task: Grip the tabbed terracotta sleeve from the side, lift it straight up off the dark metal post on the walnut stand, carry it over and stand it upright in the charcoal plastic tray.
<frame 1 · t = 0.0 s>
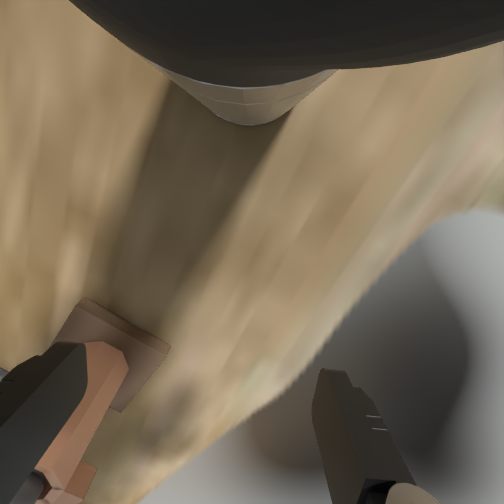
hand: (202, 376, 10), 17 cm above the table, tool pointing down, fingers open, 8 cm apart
sleeve: (100, 363, 29), point 1 cm above the table, touching stake stand
stake stand: (107, 353, 31), on the table
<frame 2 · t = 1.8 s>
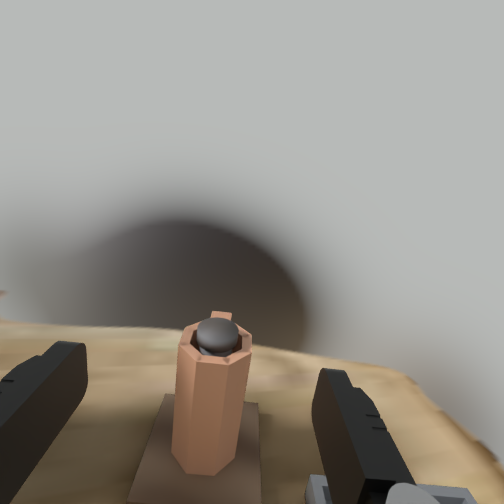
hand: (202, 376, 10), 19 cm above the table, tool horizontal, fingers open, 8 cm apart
sleeve: (205, 442, 26), point 1 cm above the table, touching stake stand
stake stand: (203, 454, 26), on the table
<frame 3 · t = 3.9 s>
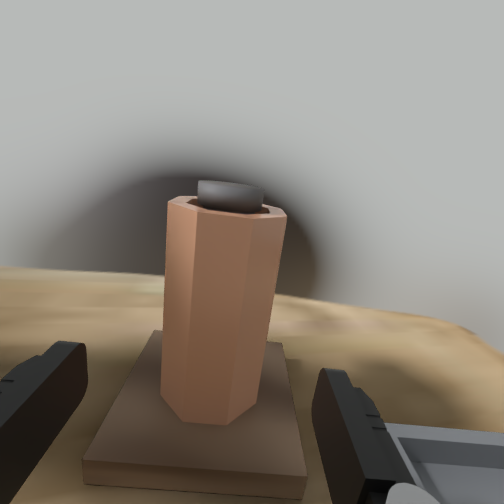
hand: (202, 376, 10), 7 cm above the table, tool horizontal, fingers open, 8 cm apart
sleeve: (210, 384, 17), point 1 cm above the table, touching stake stand
stake stand: (208, 403, 18), on the table
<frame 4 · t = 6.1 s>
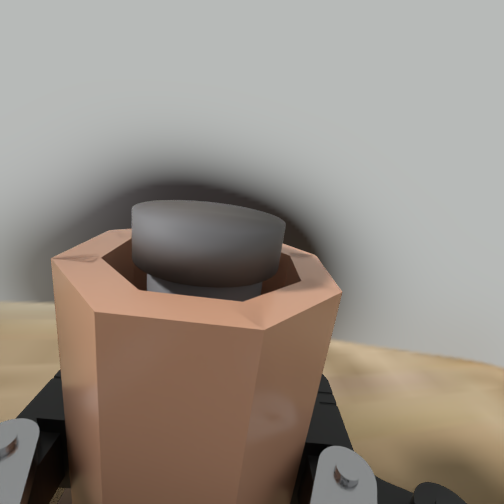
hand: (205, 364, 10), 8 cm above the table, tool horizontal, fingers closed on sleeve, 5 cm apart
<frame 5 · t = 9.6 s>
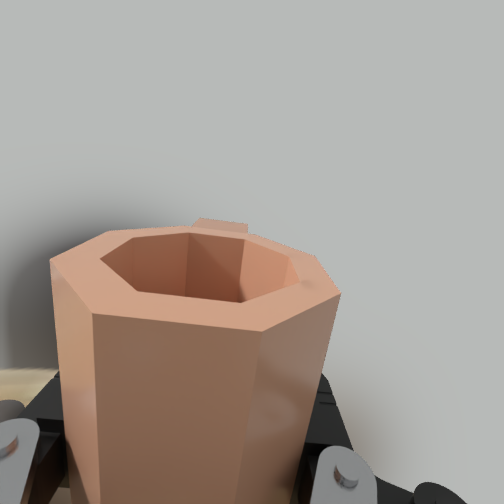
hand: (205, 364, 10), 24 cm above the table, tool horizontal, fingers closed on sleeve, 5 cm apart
when the fingers open (8 cm above the table, at t = 13.4 s): sleeve drops 2 cm, resting on tray.
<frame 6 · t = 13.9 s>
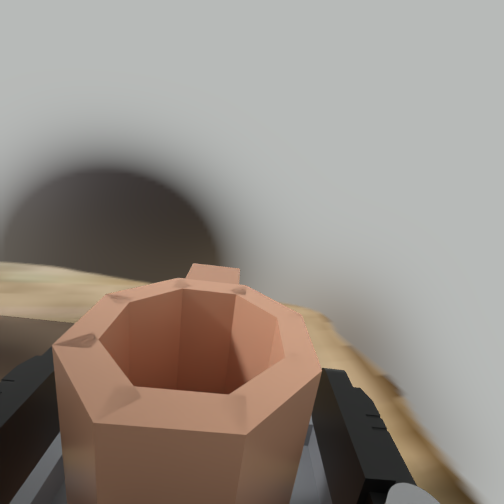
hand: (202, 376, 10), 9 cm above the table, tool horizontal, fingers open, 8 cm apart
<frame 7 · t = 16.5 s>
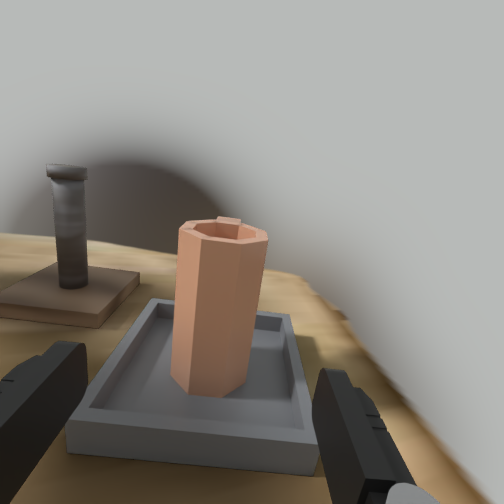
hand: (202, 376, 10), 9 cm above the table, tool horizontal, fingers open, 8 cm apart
tray: (209, 375, 22), on the table
sleeve: (210, 368, 22), point 1 cm above the table, touching tray
stake stand: (74, 296, 30), on the table
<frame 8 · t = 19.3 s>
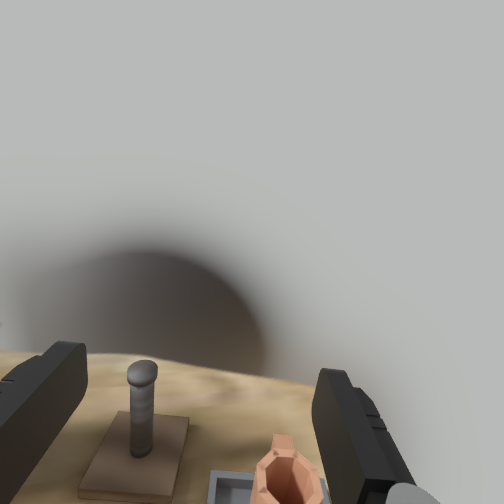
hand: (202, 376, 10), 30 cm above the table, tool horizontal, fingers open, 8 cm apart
stake stand: (141, 456, 36), on the table
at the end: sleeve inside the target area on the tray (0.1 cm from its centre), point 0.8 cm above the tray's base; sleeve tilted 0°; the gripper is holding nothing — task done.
